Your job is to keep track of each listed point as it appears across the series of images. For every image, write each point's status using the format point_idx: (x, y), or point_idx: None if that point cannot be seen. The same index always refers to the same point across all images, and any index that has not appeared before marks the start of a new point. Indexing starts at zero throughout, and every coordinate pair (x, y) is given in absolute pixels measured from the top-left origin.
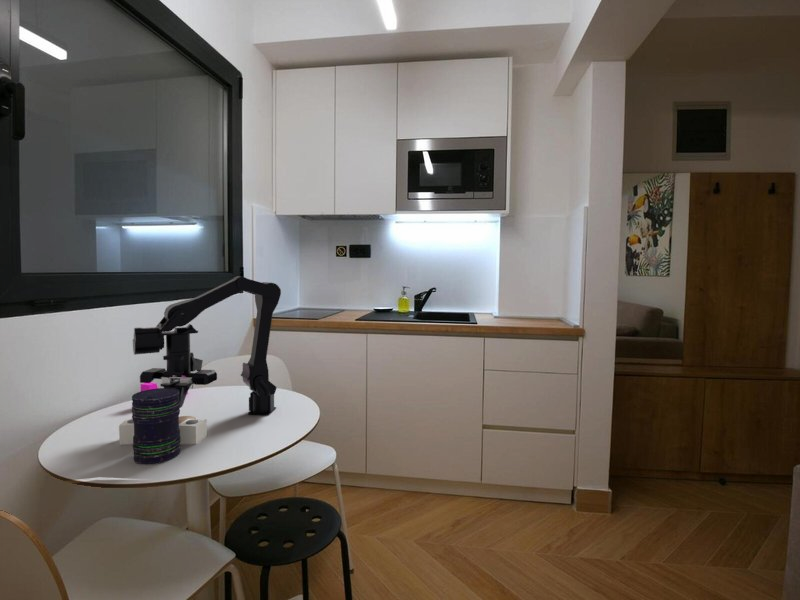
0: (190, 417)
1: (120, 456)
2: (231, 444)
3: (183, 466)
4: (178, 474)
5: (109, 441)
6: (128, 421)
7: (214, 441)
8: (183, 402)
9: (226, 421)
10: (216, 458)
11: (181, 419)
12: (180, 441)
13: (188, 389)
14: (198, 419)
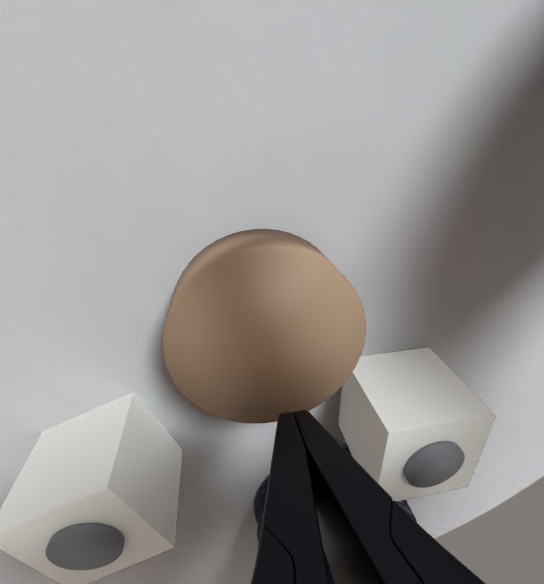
0: (305, 280)
1: (204, 528)
2: (537, 374)
3: (429, 507)
4: (433, 530)
5: (14, 478)
6: (71, 566)
7: (470, 369)
8: (329, 435)
9: (471, 97)
10: (504, 457)
11: (266, 327)
12: (408, 505)
13: (470, 577)
14: (452, 425)
